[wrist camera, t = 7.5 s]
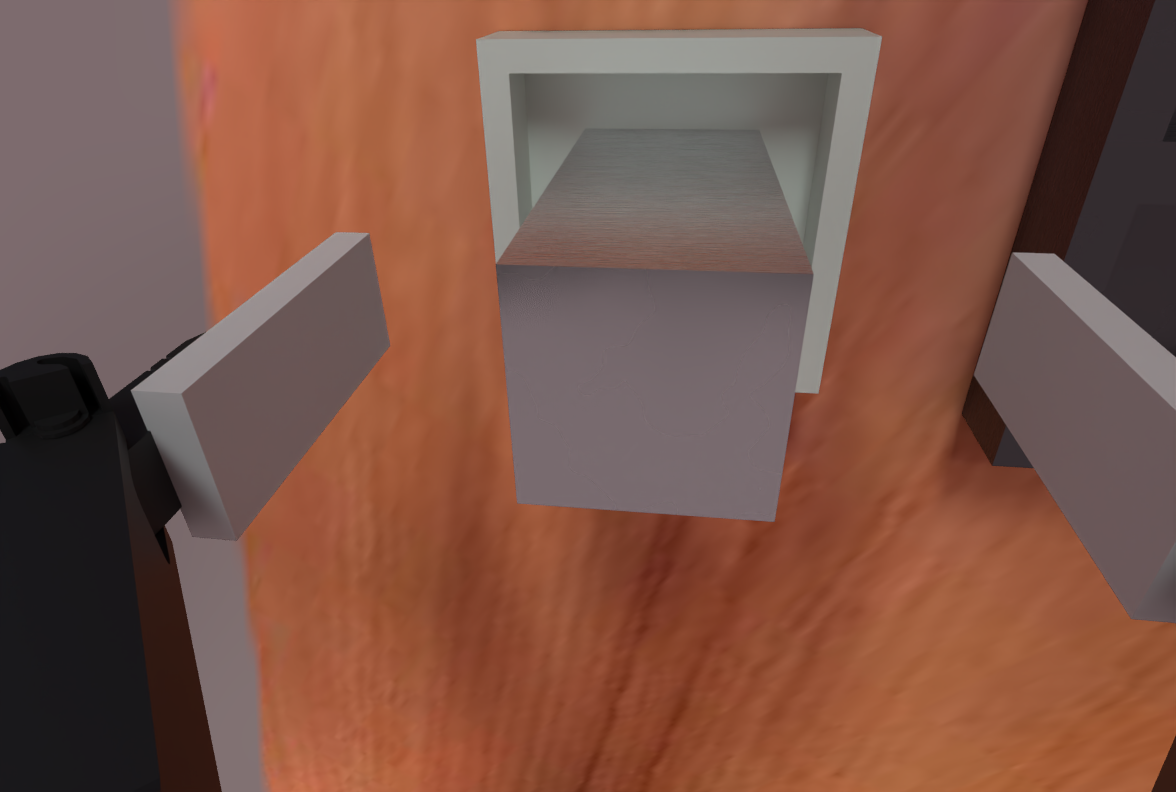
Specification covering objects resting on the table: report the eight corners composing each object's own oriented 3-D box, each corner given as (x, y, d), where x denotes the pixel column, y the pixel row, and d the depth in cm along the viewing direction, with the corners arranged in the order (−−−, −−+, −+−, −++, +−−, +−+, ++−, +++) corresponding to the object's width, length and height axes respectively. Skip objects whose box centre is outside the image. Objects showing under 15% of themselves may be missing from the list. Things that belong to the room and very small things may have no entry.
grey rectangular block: (585, 128, 21) (495, 264, 11) (759, 129, 20) (813, 274, 11) (588, 287, 23) (517, 503, 14) (742, 292, 23) (774, 521, 13)
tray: (498, 30, 20) (475, 39, 18) (861, 27, 19) (882, 36, 17) (521, 343, 25) (506, 377, 23) (807, 355, 24) (818, 393, 22)
